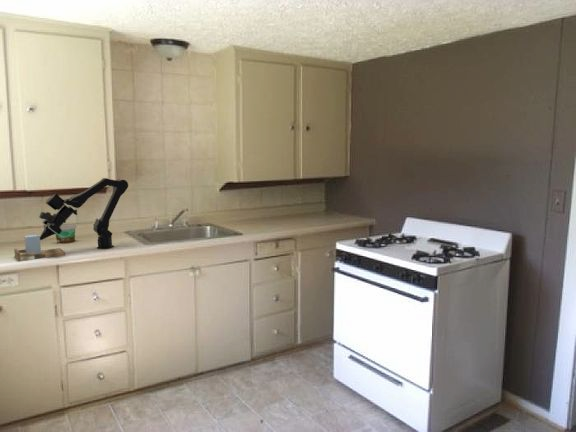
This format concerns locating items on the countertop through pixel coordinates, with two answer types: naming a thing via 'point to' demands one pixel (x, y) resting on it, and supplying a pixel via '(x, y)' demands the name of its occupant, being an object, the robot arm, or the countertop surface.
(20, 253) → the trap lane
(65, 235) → the food container
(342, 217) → the countertop surface
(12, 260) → the countertop surface
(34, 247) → the blue-grey block
